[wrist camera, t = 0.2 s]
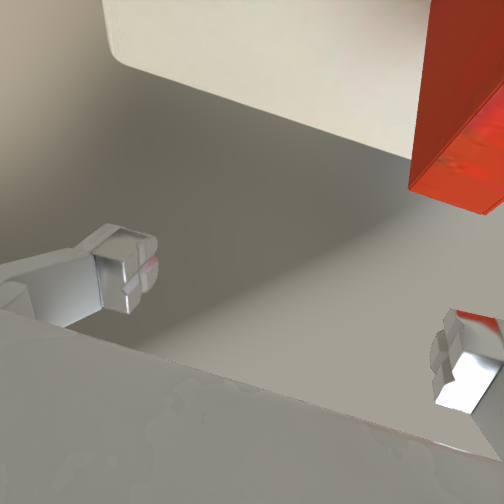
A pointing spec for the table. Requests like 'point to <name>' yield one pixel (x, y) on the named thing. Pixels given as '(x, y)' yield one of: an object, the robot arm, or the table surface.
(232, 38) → the table surface
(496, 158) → the file binder
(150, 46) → the table surface
